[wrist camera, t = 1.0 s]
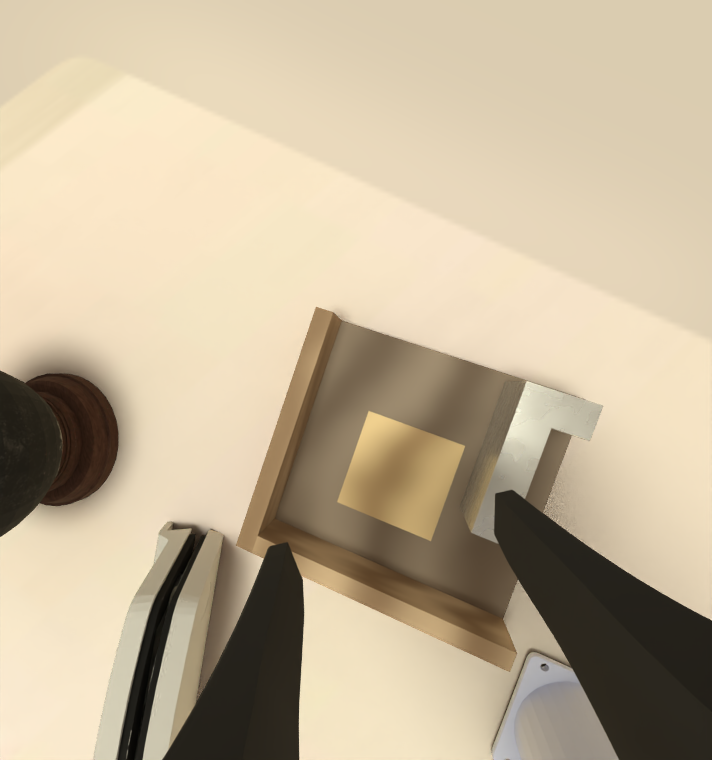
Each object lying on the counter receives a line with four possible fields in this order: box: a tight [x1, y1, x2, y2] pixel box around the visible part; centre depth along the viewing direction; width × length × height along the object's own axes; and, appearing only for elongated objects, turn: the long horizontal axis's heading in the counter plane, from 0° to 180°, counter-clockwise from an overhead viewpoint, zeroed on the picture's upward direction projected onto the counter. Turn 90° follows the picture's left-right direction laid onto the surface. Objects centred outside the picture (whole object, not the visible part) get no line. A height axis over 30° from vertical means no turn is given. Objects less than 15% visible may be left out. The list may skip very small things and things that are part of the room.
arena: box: [275, 321, 585, 619], centre depth 23 cm, size 17×16×1 cm
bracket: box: [460, 381, 603, 544], centre depth 20 cm, size 9×4×4 cm, turn 161°
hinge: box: [93, 522, 224, 760], centre depth 22 cm, size 17×5×10 cm, turn 170°
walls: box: [236, 307, 517, 672], centre depth 22 cm, size 18×17×4 cm
